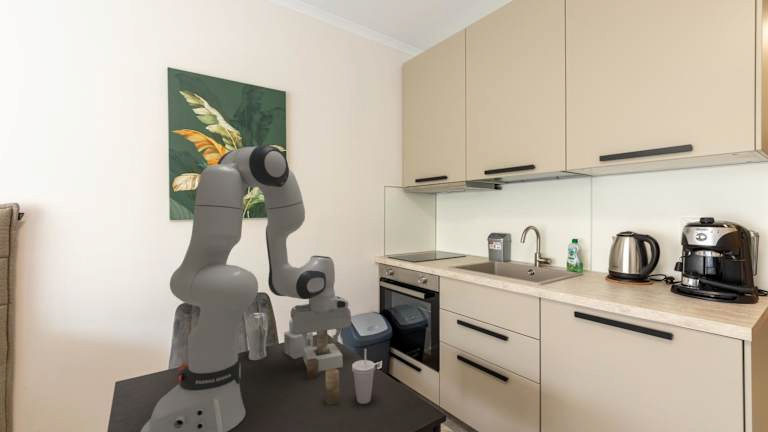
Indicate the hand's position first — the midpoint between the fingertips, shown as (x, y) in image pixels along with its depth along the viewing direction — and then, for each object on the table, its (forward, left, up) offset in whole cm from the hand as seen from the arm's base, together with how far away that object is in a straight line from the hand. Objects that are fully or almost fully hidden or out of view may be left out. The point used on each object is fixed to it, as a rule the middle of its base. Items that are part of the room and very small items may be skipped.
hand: (321, 343), depth 114 cm
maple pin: (0, 0, -7) cm, 7 cm away
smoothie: (+5, -27, -7) cm, 28 cm away
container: (-6, +12, -7) cm, 15 cm away
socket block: (0, 0, -7) cm, 7 cm away
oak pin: (-3, -24, -7) cm, 25 cm away
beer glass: (-20, +15, -7) cm, 26 cm away
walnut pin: (-5, -8, -7) cm, 12 cm away
